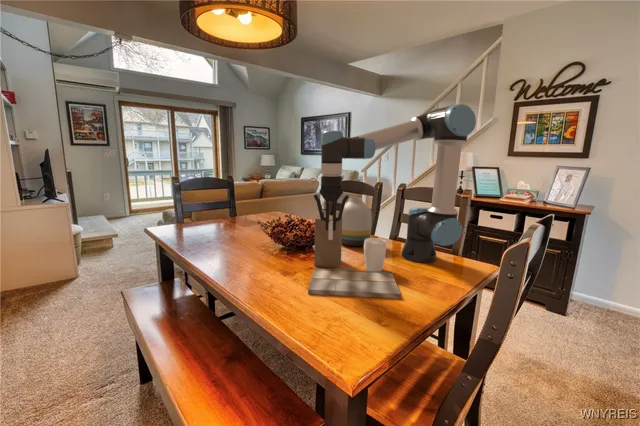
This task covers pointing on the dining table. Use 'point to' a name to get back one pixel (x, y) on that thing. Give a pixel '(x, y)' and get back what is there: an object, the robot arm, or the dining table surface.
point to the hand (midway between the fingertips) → (330, 238)
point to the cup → (374, 253)
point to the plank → (352, 275)
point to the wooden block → (327, 244)
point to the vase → (356, 222)
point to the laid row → (353, 288)
